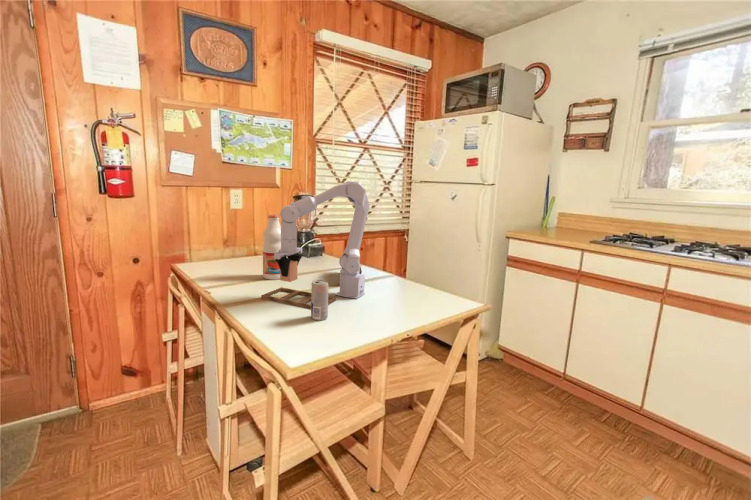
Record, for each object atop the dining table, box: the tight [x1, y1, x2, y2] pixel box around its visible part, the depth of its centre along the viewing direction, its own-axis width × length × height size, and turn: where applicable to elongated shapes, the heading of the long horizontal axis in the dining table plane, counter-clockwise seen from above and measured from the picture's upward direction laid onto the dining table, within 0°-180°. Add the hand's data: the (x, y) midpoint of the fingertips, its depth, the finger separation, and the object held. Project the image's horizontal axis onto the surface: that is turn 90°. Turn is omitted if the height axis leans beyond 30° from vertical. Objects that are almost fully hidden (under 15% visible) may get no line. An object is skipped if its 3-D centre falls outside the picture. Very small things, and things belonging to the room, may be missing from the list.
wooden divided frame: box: [260, 286, 337, 309], centre depth 135 cm, size 25×12×1 cm, turn 67°
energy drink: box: [310, 279, 329, 322], centre depth 117 cm, size 5×5×12 cm
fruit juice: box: [262, 214, 281, 281], centre depth 161 cm, size 9×9×28 cm
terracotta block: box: [279, 260, 298, 283], centre depth 135 cm, size 4×4×7 cm
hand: (288, 274), depth 135 cm, fingers closed on terracotta block, 4 cm apart
